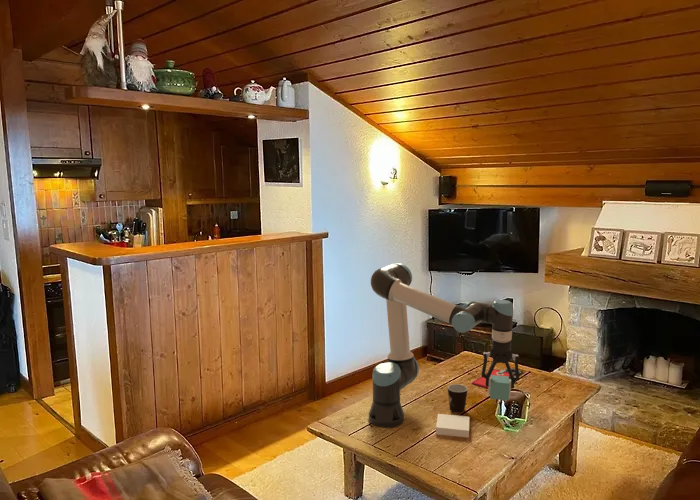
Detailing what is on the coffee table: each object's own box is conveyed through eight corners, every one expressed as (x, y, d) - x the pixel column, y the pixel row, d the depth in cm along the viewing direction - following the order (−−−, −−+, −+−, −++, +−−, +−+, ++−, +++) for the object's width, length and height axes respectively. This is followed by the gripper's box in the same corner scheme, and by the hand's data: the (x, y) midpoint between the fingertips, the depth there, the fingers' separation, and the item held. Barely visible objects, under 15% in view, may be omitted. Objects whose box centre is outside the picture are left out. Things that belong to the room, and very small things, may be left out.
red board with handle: (526, 373, 279) (499, 367, 289) (526, 368, 279) (499, 362, 288) (499, 393, 257) (471, 385, 267) (500, 387, 257) (471, 380, 266)
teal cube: (490, 398, 214) (491, 381, 213) (489, 391, 220) (490, 374, 219) (508, 400, 212) (509, 383, 211) (507, 392, 219) (508, 376, 218)
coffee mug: (467, 414, 235) (467, 392, 233) (447, 413, 237) (447, 391, 235) (467, 403, 246) (467, 382, 244) (447, 401, 248) (448, 380, 246)
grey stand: (435, 434, 219) (435, 427, 218) (437, 420, 230) (438, 413, 230) (468, 437, 216) (469, 430, 215) (469, 423, 227) (469, 416, 227)
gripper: (475, 341, 211) (473, 396, 215) (529, 344, 206) (526, 401, 210) (475, 334, 218) (473, 388, 222) (527, 338, 214) (524, 393, 218)
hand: (499, 394), depth 216 cm, fingers closed on teal cube, 7 cm apart
